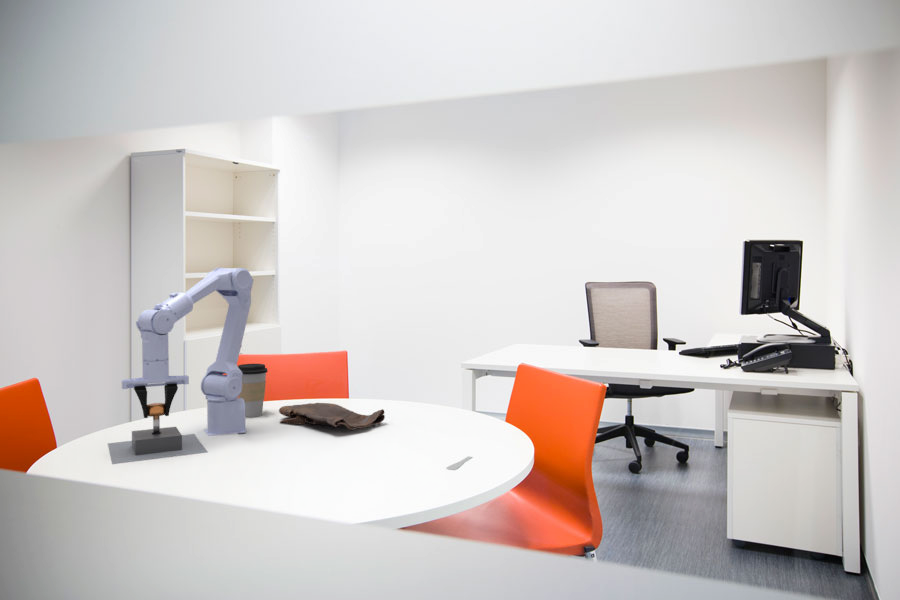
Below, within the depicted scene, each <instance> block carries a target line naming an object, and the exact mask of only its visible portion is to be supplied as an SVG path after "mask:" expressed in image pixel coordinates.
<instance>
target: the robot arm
mask: <svg viewBox="0 0 900 600" xmlns="http://www.w3.org/2000/svg"><path fill="white" fill-rule="evenodd" d="M253 285H254V278H253V277H252V274H251V273H250V271H249V270H248V269H247V268H245V267H235V268H233V267H230V268H229V267H227V268H226V267H225V268H224V267H216V268H214V269H213V270H211V271H209V272H207V275H206V276H205V277H204V278H202V279H201V280H200V281H198V282H197V283H196V284H194V285H193V286H192V287H191V288H189V289H188V290H186V291H185V292H182V291H181V292H180V291H179V292H171V293H170V294H169V297H168V298H167V299H165V300H164V301H162V302H161V303H156V304H155V305H154V308H153V309H145V310H143V311H142V312H141V313H140V314H139V316H138V318H137V321H135V325H136V327H137V329H138V331H139V332H140V339H141V342H142V343H141V346H142V347H141V350H142V352H141V353H142V357H141V358H142V362H141V363H142V377H137V378H130V379H129V378H127V379H121V389H122V390H127V389H133V390H134V392H135V394H136V396H137V397H138V401H139V403H140V405H141V409H142V414H143V419H148V418H149V416H148V411H147V405H148V391H147V387H148V388H149V387H150V388H151V387H161V386H164V387H163V388H164V404H165V415H164V416H165V417H169V416H170V411H171V406H172V403H173V401H174V398H175V395H176V393H177V391H178V387H179V386H178V385H189V384H190V383H189V381H190V376H189V375H170V372H169V371H170V365H169V361H170V359H169V358H170V357H169V354H170V353H169V333H171V331H172V330H173V329H174V325H175V324H176V323H177V322H178V321H180V320H182V318H183V317H186V316H187V315H188V314H189V313H190V312H192V311H193V309H194V304H196V303H197V302H199V301H201V300H203V299H204V298H206V297H207V296H209V295H210V294H212V293H213V292H217V294H219V296H221V297H222V298H223V299H224V300H225V301H226V303H227V304H228V306H227V307H228V308H227V311H226V316H225V319H224V320H225V321H224V325H223V329H222V331H221V332H222V333H221V338H220V342H219V346H218V349H217V354H216V358H215V361H214V362H213V363H212V364H210V365H209V366H208V367H207V369H206V373H205V374H204V376H203V377H202V379H201V382H200V390H201V392H202V394H203V395H205V400H207V401H206V404H207V407H206V410H207V414H206V416H207V417H206V419H207V428H204V429H203V431H204V432H205V433H206V434H207V435H208V436H209V437H212V436H221V435H228V434H245V433H247V429H246V417H245V402H244V399H243V398H239V395H240V393H241V391H242V374H243V373H242V371H241V370H240V369H239V368H238V360H239V357H240V352H241V348H242V344H243V339H244V336H245V331H246V328H247V327H246V326H247V322H248V318H249V313H250V309H251V304H252V290H253V289H252V288H253Z"/></svg>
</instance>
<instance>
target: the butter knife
mask: <svg viewBox="0 0 900 600" xmlns="http://www.w3.org/2000/svg"><path fill="white" fill-rule="evenodd" d="M472 459H473V456H466V457H465V458H463V459H461V460H460V461H458V462H455V463H453V464H451V465H449V466H447V467H446V470H447V471H456V470H458V469H460V468H461V467H462V466H463V465H464V464H465V463H466V462H468V461H470V460H472Z"/></svg>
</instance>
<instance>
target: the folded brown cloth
mask: <svg viewBox="0 0 900 600" xmlns="http://www.w3.org/2000/svg"><path fill="white" fill-rule="evenodd" d="M278 411H279V413H280V415H282V416H285V417H289V418H286V419H285V418H284V419H282V420H280V421H279V424H292V425H293V424H294V425H305V424H307V423H309V424H310V425H318V426H319V425H320V426H321V425H324V426H332V427H335V428H337V427H343V428H344V427H345V428H348V430H357V429H363V428H368V427H371V426H373V425H379V424H381V423H382V422H383V421H384V420H385V418H386V417H385V410H384V409H383V408H382V409H380V410H379V409H378V410H377V411H375V412H373V413H371V414H368V415H365V414H360V413H357V412H354V411H353V410H350V409H348V408H346V407H343V406H341V405H339V404H338V403H337V404H336V403H330V402H328V403H327V402H314V403H312V402H311V403H303V404H294V405H284V406H281V407H279V409H278Z"/></svg>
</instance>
